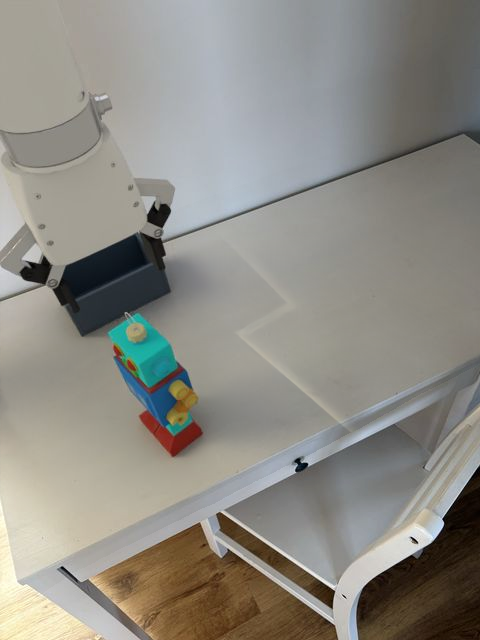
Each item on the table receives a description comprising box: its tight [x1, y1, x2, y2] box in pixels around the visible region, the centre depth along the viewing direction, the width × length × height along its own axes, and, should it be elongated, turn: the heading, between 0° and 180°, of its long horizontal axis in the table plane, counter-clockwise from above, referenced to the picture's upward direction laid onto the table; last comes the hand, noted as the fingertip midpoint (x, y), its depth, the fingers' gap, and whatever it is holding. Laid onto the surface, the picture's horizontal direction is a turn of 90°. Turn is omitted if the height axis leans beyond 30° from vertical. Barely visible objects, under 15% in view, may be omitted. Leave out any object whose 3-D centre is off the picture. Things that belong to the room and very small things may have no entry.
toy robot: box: [107, 312, 203, 458], centre depth 69 cm, size 12×6×25 cm, turn 42°
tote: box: [62, 231, 172, 337], centre depth 94 cm, size 17×10×8 cm, turn 124°
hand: (115, 283), depth 56 cm, fingers open, 9 cm apart
